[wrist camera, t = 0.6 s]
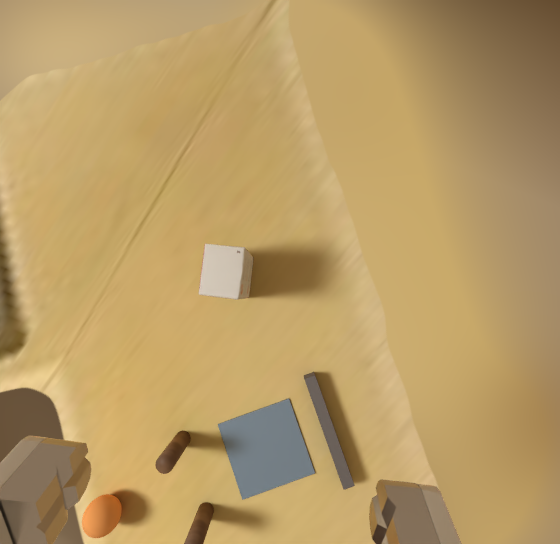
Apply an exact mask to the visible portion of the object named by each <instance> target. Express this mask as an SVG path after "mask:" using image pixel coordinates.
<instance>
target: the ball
mask: <svg viewBox="0 0 560 544" xmlns="http://www.w3.org/2000/svg"><path fill="white" fill-rule="evenodd" d="M121 513H122V507H121V503H120V501H119V499H118V498H117V497H115V496H113V495H102V496H100V497H98V498H96V499H94V500H93V501H92V502H91V503H90V504H89V506H88V507H87V508H86V510H85V512H84V515H83V519H82V526H83V530H84V532H85V533H86V534H87V535H88V536H90V537H92V538H100V537H103V536H106V535H107V534H109V533H110V532H111V531H112V530H113V529H114V528H115V527H116V526H117V524H118V522H119V520H120V518H121Z"/></svg>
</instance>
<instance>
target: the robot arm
mask: <svg viewBox="0 0 560 544" xmlns="http://www.w3.org/2000/svg"><path fill="white" fill-rule="evenodd" d="M87 453H88V448H87V444H86V443H81V442H74V441H66V440H59V439H51V438H47V437H39V436H30V435H29V436H27V437H26V438H24V439H23V440H21V441H20V442H19V443H18V445H17V446H15V448H14V449H13V450H12V451H11V452H10V453H9V454H8V455H7V456H6V457H5V458H4V459H3V461H2V462H1V463H0V544H53V543H54V541H55V540H56V538H57V536H58V535H59V533H60V532H61V530H62V528H63V527H64V525H65V523H66V522H67V519H68V515H67V510H68V509H69V508H71V507H72V506H73V505H75V504H76V503H77V502H79V500H80V499H81V497H82V495H83V494H84V492H85V490H86V488H87V485H88V482H89V480H90V475H91V464H90V462H89V461H88V460H87V459H86V458H85V456H86V454H87ZM376 491H377V495H376V496H375V497H373V498H372V501H371V504H370V513H369V520H370V529H371V535H372V539H373V541H374V542H375V543H376V544H461V541H460V539H459V536H458V534H457V532H456V529H455V527H454V524H453V522H452V519H451V517H450V515H449V512H448V510H447V507H446V505H445V502H444V500H443V497H442V495H441V493H440V491H439V489H438V488H437V487H435V486H431V485H421V484H416V483H409V482H399V481H390V480H379V481H378V483H377V486H376Z"/></svg>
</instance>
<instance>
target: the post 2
mask: <svg viewBox="0 0 560 544" xmlns="http://www.w3.org/2000/svg"><path fill="white" fill-rule="evenodd" d="M213 512H214V509H213V506H212V505H211V504H210V503H202V504H201V505H200V506H199V509H198V511H197V513H196V516H195V518H194V521H193V523H192V526H191V528H190V531H189V533H188V536H187V538H186V541H185V543H184V544H203V543H204V540H205V537H206V534H207V531H208V527H209V524H210V521H211V518H212V515H213Z"/></svg>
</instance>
